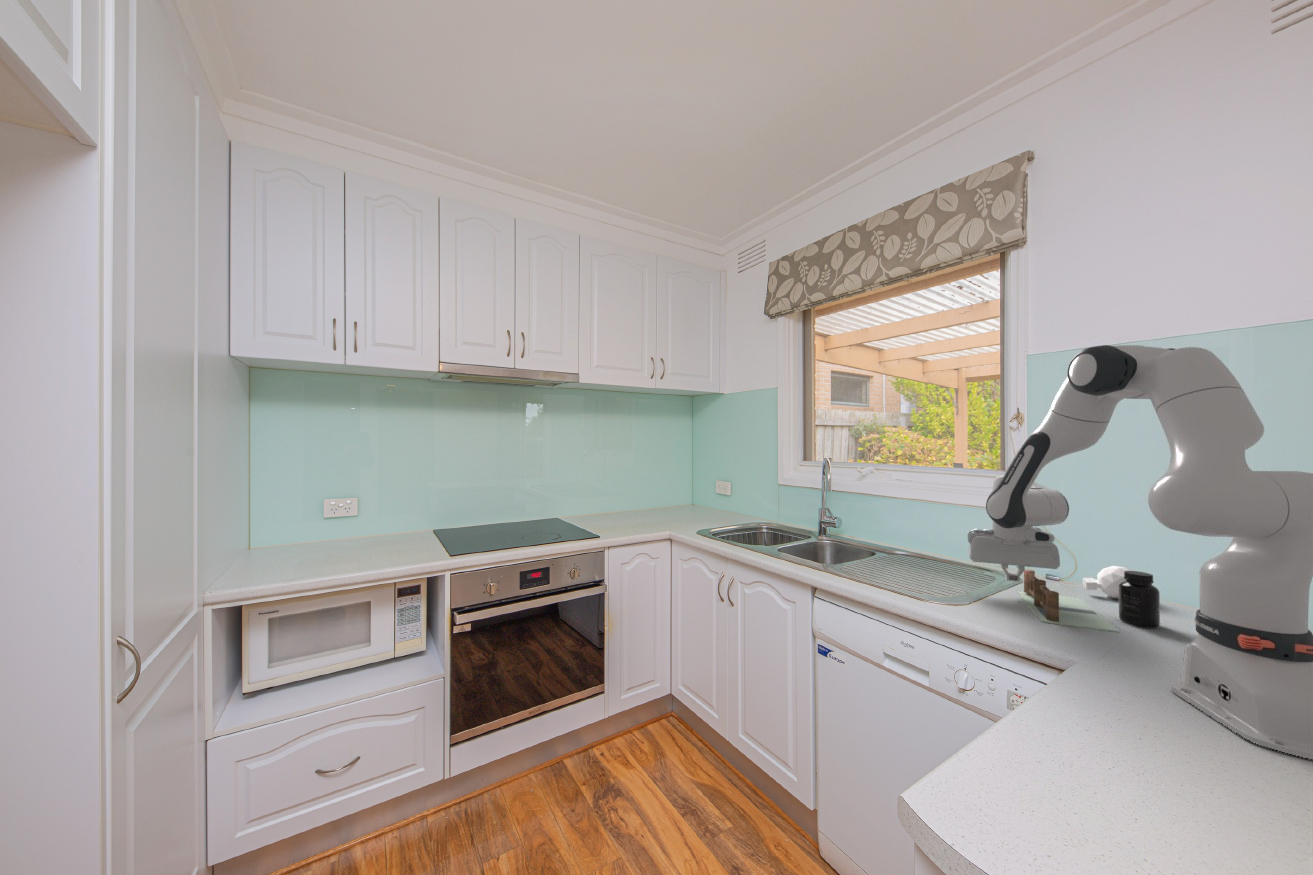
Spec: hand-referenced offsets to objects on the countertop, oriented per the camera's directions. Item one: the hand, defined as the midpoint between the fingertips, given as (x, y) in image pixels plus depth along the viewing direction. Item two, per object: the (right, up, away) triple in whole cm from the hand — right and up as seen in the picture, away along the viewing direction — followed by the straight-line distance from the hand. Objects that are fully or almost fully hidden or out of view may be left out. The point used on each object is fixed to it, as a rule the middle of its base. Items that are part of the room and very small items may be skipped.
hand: (1012, 580), depth 129 cm
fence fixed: (-1, -5, -13) cm, 13 cm away
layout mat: (+5, -4, -10) cm, 12 cm away
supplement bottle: (+16, -5, -19) cm, 25 cm away
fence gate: (+4, -4, -2) cm, 6 cm away
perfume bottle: (+27, -5, -1) cm, 27 cm away
